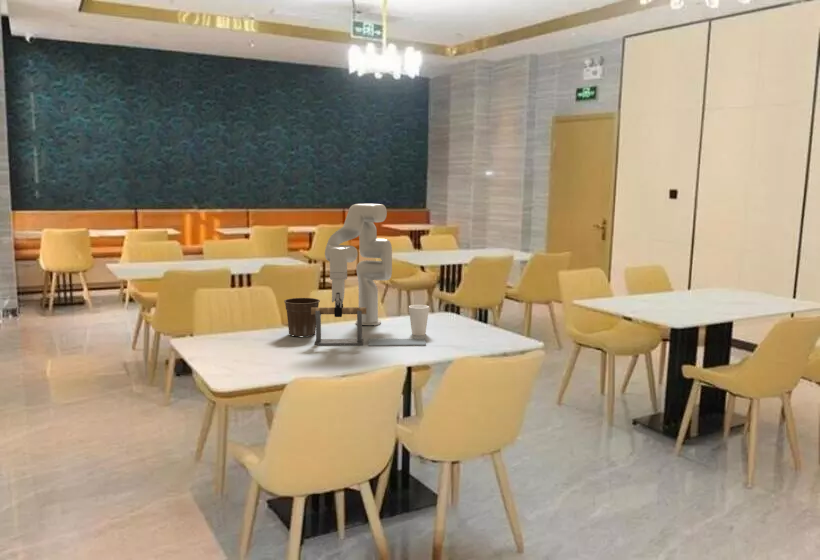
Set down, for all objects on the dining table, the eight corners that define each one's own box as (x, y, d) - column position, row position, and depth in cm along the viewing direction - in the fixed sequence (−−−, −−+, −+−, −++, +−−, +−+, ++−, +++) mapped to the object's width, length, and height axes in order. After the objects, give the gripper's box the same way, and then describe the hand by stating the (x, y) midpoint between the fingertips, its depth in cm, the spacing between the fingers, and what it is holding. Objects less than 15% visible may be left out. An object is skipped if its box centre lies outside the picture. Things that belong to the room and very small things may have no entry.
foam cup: (428, 336, 329) (428, 308, 327) (408, 336, 329) (408, 308, 327) (428, 331, 338) (428, 304, 336) (409, 331, 339) (409, 304, 337)
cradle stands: (316, 341, 318) (315, 308, 316) (363, 341, 319) (363, 308, 317) (314, 345, 310) (313, 311, 308) (362, 345, 311) (362, 311, 309)
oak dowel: (311, 315, 311) (310, 308, 310) (311, 313, 314) (311, 306, 313) (366, 314, 312) (366, 308, 311) (366, 313, 315) (366, 306, 314)
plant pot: (311, 329, 343) (310, 296, 340) (326, 335, 329) (325, 301, 327) (279, 333, 334) (278, 299, 332) (293, 340, 321) (292, 304, 318)
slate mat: (369, 340, 320) (369, 338, 320) (424, 339, 321) (424, 338, 321) (368, 346, 310) (368, 344, 310) (426, 345, 311) (426, 344, 310)
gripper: (331, 273, 319) (331, 311, 321) (328, 278, 301) (328, 318, 304) (348, 273, 319) (348, 311, 321) (346, 278, 302) (346, 318, 304)
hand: (338, 314), depth 313 cm, fingers open, 8 cm apart
